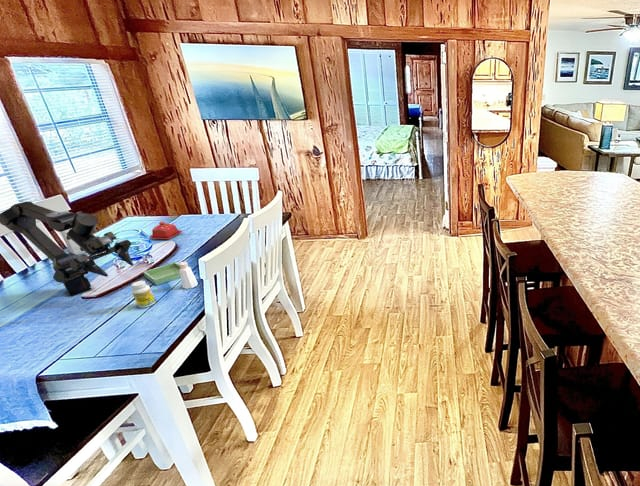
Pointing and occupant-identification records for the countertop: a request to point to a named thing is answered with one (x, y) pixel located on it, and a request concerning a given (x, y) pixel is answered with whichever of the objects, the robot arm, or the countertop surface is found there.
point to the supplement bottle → (142, 294)
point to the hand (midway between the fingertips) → (120, 270)
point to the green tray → (163, 273)
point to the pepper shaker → (187, 276)
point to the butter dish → (164, 231)
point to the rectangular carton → (71, 244)
